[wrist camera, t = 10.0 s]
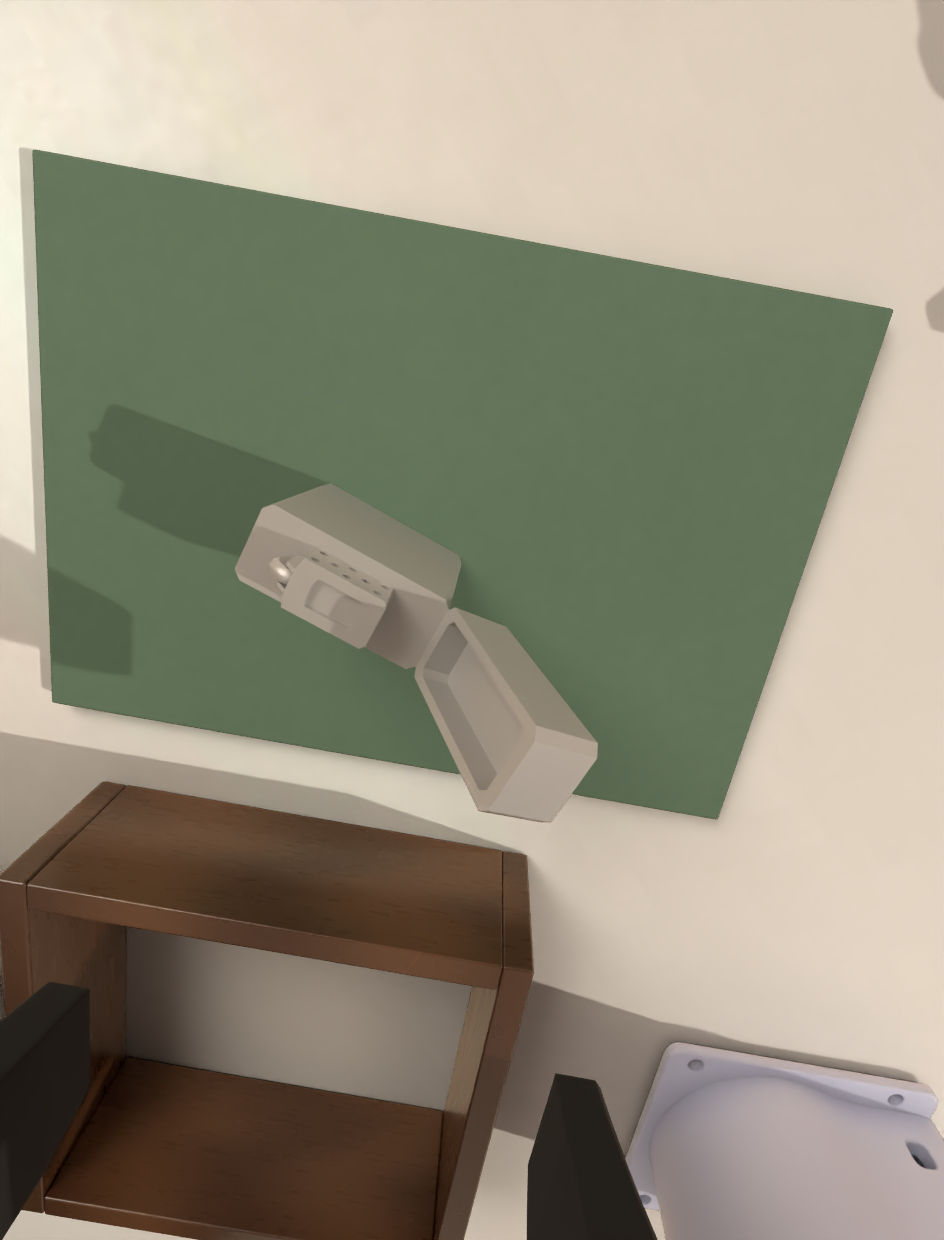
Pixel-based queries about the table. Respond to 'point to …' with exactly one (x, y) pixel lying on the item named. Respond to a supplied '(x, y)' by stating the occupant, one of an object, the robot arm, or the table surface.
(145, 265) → the rubber mat
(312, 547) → the lighter
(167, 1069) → the walnut box
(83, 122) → the table surface
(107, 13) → the table surface
